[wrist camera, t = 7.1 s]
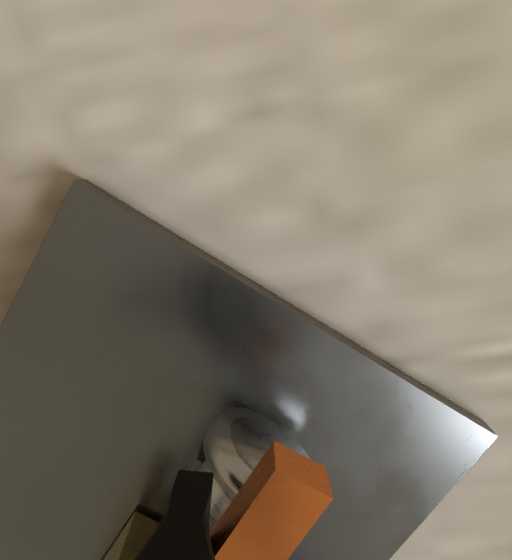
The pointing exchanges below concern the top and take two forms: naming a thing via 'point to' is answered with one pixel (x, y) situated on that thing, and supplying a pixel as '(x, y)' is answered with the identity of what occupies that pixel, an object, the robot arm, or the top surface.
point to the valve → (196, 399)
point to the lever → (273, 508)
